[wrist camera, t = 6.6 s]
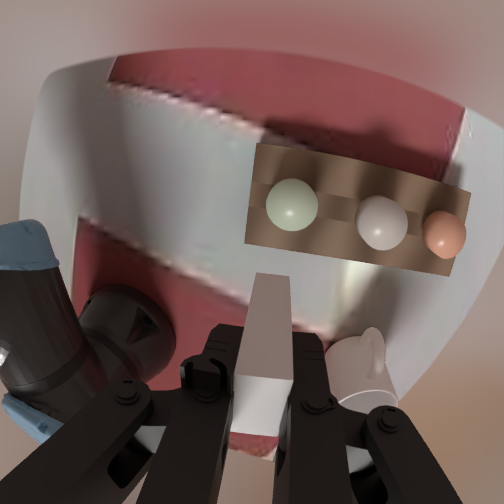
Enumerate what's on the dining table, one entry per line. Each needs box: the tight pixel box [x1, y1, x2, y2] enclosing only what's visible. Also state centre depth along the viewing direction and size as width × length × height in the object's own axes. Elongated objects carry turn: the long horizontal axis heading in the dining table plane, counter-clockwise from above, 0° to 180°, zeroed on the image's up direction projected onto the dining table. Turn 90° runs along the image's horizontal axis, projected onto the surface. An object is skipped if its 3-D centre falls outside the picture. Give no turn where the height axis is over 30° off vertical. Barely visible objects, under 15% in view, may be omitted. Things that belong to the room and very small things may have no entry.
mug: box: [325, 327, 398, 414], centre depth 30 cm, size 12×8×10 cm
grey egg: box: [354, 195, 408, 250], centre depth 24 cm, size 4×4×4 cm
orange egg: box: [422, 210, 466, 259], centre depth 24 cm, size 4×4×4 cm
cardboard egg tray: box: [244, 143, 471, 276], centre depth 27 cm, size 24×10×3 cm, turn 83°
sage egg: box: [266, 178, 318, 231], centre depth 25 cm, size 4×4×4 cm
